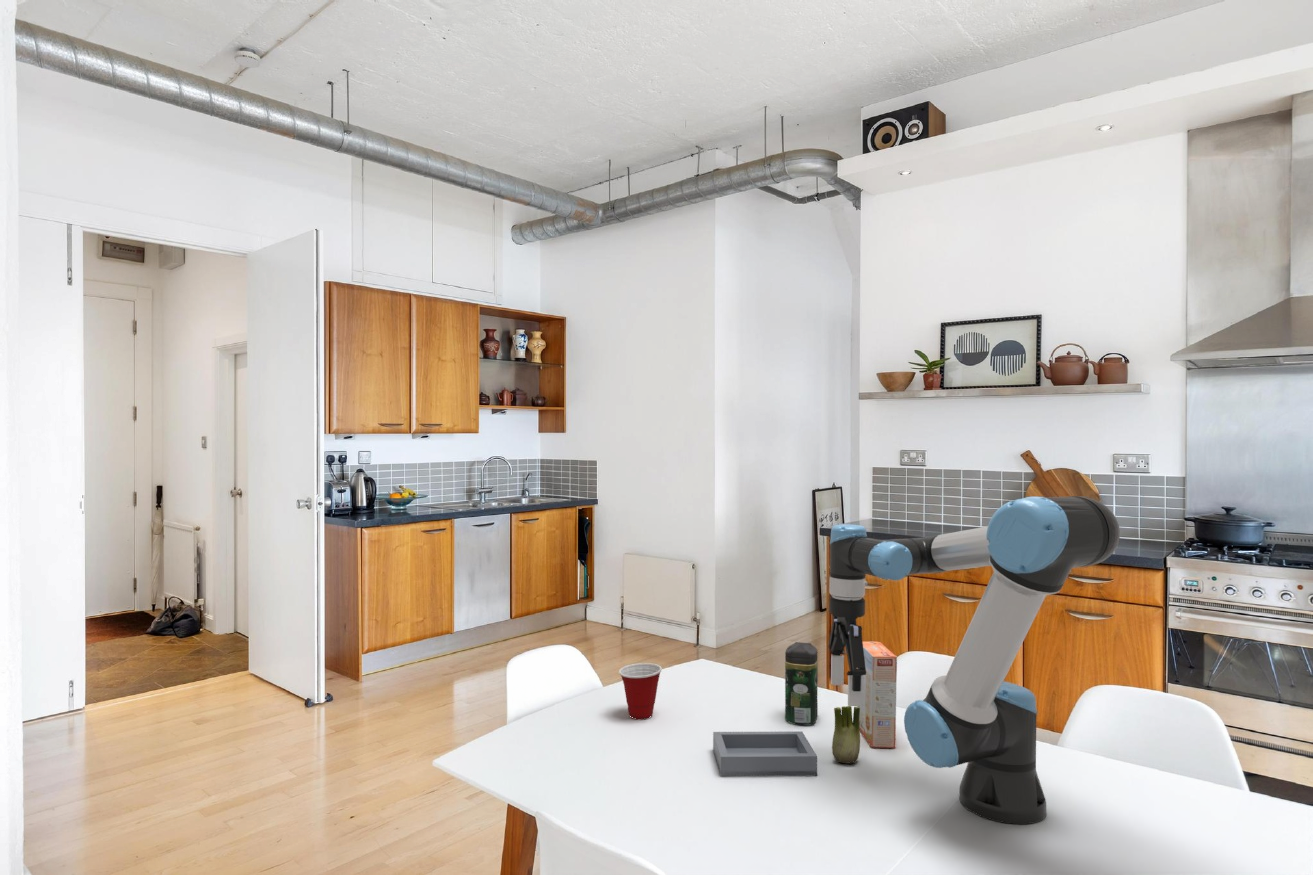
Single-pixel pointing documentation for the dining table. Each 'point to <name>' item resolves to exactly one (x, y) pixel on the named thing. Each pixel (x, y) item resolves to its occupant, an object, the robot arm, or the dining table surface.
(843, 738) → the fennel bulb
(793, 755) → the bin
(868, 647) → the cracker box
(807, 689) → the coffee jar
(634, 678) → the plastic cup
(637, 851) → the dining table surface
